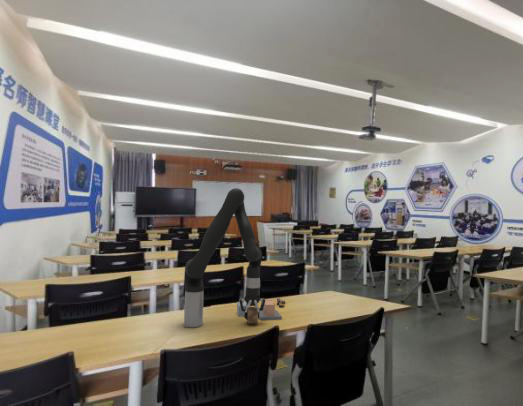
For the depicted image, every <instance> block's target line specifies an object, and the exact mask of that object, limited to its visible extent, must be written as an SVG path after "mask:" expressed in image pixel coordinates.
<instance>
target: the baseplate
mask: <svg viewBox="0 0 523 406" xmlns="http://www.w3.org/2000/svg"><path fill="white" fill-rule="evenodd" d="M272 301H273V300H265V304H264V308H263V311H260V312H259V318H258V320H259V321H275V320H276V321H277V320H278V321H279V320H282V319H283V317H282V314H280V312H279V311H278V310H276V303H275V302H274V301H273V302H272ZM274 303H275V304H274Z"/></svg>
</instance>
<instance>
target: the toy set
mask: <svg viewBox="0 0 523 406" xmlns="http://www.w3.org/2000/svg"><path fill="white" fill-rule="evenodd" d="M271 301H272V302H273V303H274V304H275V305H276V306H278V308H281V309H283V308H285V306H286V305H285V304H286V300H283V299H281V298H280V297H277V298H276V303H275V302H274V301H273V300H271Z"/></svg>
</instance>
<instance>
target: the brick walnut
mask: <svg viewBox="0 0 523 406" xmlns="http://www.w3.org/2000/svg"><path fill="white" fill-rule="evenodd" d="M247 312H248V314H247V320H246V322H247V324H256V323H257V324H258V322H259V318H258V310H257V309H256V307H255V306H249V308H248V311H247Z"/></svg>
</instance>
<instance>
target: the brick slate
mask: <svg viewBox="0 0 523 406" xmlns="http://www.w3.org/2000/svg"><path fill="white" fill-rule="evenodd" d="M246 304H247V303H246V302H245V301H244V303H243V308H244V309H245V307H246ZM236 313H237V316H238V317H240V318H241V317H244V313H245V312H244V311H242V310H241V306H240V302H239V301H237V302H236Z"/></svg>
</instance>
